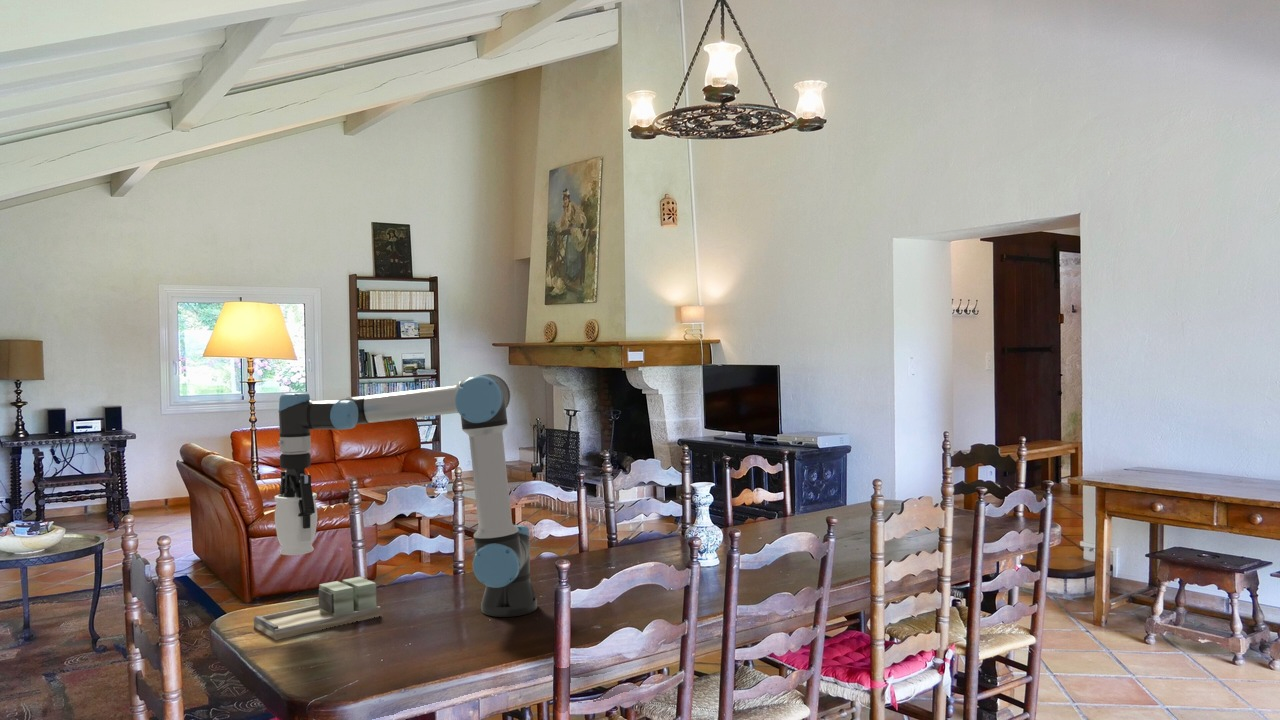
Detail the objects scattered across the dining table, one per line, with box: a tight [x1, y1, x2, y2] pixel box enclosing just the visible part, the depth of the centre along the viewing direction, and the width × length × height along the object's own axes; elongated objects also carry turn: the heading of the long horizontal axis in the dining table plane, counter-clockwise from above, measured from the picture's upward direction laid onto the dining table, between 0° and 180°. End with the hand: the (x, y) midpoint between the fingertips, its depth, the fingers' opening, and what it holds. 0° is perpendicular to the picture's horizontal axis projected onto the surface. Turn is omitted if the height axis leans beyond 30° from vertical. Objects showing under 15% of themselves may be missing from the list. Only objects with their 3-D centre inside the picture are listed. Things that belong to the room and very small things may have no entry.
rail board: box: [253, 576, 382, 641], centre depth 241 cm, size 15×28×8 cm, turn 133°
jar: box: [274, 491, 318, 556], centre depth 237 cm, size 11×10×15 cm
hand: (296, 537), depth 237 cm, fingers closed on jar, 10 cm apart
